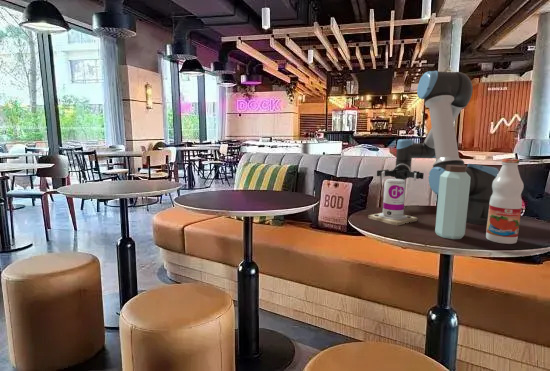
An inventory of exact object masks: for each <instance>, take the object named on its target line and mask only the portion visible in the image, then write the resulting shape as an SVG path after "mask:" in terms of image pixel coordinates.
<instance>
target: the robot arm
mask: <svg viewBox="0 0 550 371" xmlns="http://www.w3.org/2000/svg"><path fill="white" fill-rule="evenodd" d="M416 89H417V91H416V93H417V94H416V95H417V97H418V98H419V100H420V99H421V100H423V101H424V106H425V107H427V108H428V109H429V118H430V124H431V128H430V130H429V132H428V134H427V135H426V137H425V139H424V140H423V142H422V143H419V142H418V143H417V142H414V141H413V139H409V138H408V139H404V138H403V139H402V138H401V139H400V138H399V139H398V140H397V143H396V156H395V157H396V158H395V167H394V168H393V169H391V170H390V169H381V170H376V177H380V179H384V178H386V177H392V178H394V179H402V180H404V181H405V180H406V179H409V178H411V179H413V181H416V180H424V172H420V171H417V170H414V171H413V170H412V161H413V160H412V159H435V162H434V163H433V164H432V168H431V169H430V170H429V173H428V174H429V175H428V183H429V184H428V185H429V187H430V189H431V191H432V192H433V193H434V194H435V195H437V196H438V193H439V182H440V175H441V174H442V173H443V172H444V171H445V169H446V165H462V166H467V167H466V172H467V174H468V175H469V176H470V177H471V179H470V189H469V199H468V209H467V218H466V223H468V224H469V223H470V224H475V225H483V226H484V225H485V226H487V221H488V212H489V202H490V197H491V195H492V193H493V190H492V182H493V180H494V179H495V178H496V177H497V175H498V173H499V171H500V170H499V169H498V168H497V167H493V166H487V165H481V164H476V163H475V164H474V163H468V164H467V165H465V160H464V159H462V158H460V156H459V150H458V149H459V148H458V143H457V136H456V134H457V133H456V128H455V121H456V119H457V118H458V116H459V114H460V113H461V111H462V109H465V108H467V106H468V105H469V102H470V100H471V99H472V95H473V92H474V91H473V90H474V89H473V83H472V80H471V79H470V76H468V75H467V74H465V73H463V72H461V71H460V72H459V71H439V70H432V71H431V70H429V71H426V72H424V73H423V75H422V76H420V79H419V82H418V85H417V88H416Z"/></svg>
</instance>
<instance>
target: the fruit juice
mask: <svg viewBox="0 0 550 371" xmlns="http://www.w3.org/2000/svg"><path fill="white" fill-rule="evenodd" d="M501 164H502V165H501V167H500V170H499V173H498V175H497V177H496V178H495V179H494V180H493V182H492V190H493V193H492V195H491V197H490V202H489V212H488V221H487V225H486V230H485V231H486V232H485V238H486V239H487V240H489V241H491V242H493V243H497V244H498V243H499V244H504V245H505V244H507V245H513V244H516V243H517V242H518V237H519V230H520V221H521V214H522V209H523V208H522V207H523V199H522V193H523V191H524V188H525V187H524V182H523V180H522V177H521V174H520V171H519V166H518V165H519V164H520V159H519V158H518V159H517V158H502V159H501Z"/></svg>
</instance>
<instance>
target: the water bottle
mask: <svg viewBox="0 0 550 371" xmlns="http://www.w3.org/2000/svg"><path fill="white" fill-rule="evenodd" d="M466 167H467V165H465V166H462V165H446V169H445V171H444V172H443V173H442V174H441V175H440V182H439V193H438V195H437V205H436V215H435V216H436V217H435V226H434V227H435V229H434V232H435V234H436V235H437V236H438V237H441V238H444V239H450V240H461V239H462V238H463V237H464V236H465V234H466V227H467V222H466V218H467V209H468V199H469V189H470V179H471V177H470V176H469V175H468V174H467V172H466Z"/></svg>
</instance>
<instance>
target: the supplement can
mask: <svg viewBox="0 0 550 371" xmlns="http://www.w3.org/2000/svg"><path fill="white" fill-rule="evenodd" d="M406 185H407V184H406V182H405V180H402V179H396V178H386V179H385V181H384V187H383V201H382V213H383V214H384V216H387V217H393V218H398V217H402V216H403V215H404V211H405V210H404V209H405V196H406Z"/></svg>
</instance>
